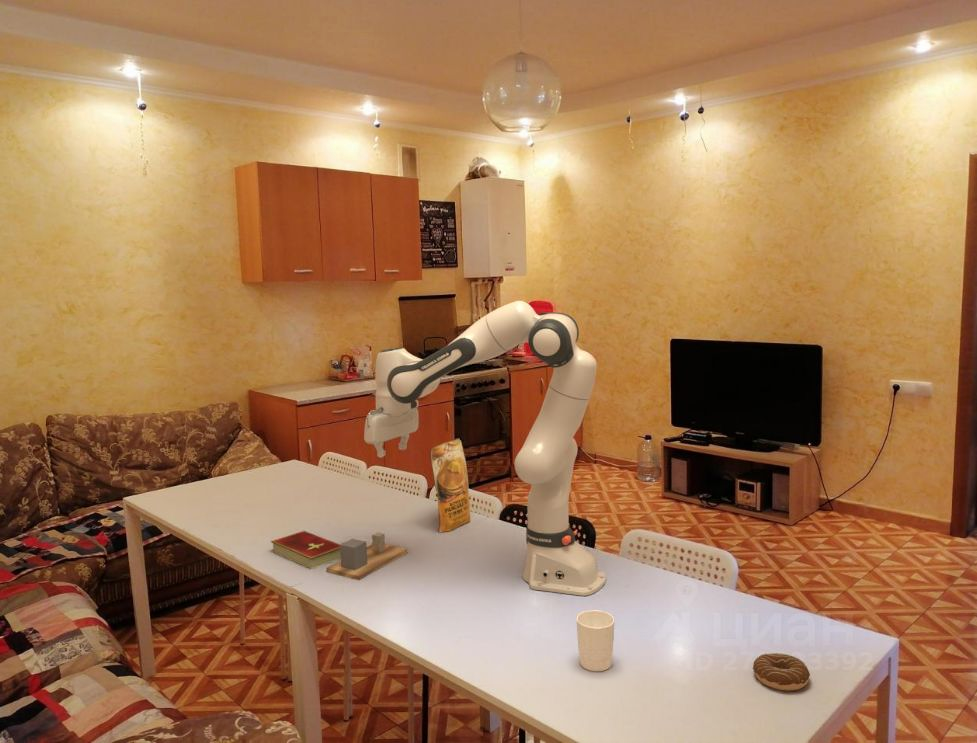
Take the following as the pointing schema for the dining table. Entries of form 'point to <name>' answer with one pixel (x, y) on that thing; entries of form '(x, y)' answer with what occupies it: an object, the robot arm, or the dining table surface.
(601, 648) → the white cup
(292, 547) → the hardcover book
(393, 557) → the board
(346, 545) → the gray rectangular block
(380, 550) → the post
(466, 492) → the pancake mix bag
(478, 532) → the dining table surface
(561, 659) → the dining table surface
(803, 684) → the donut
